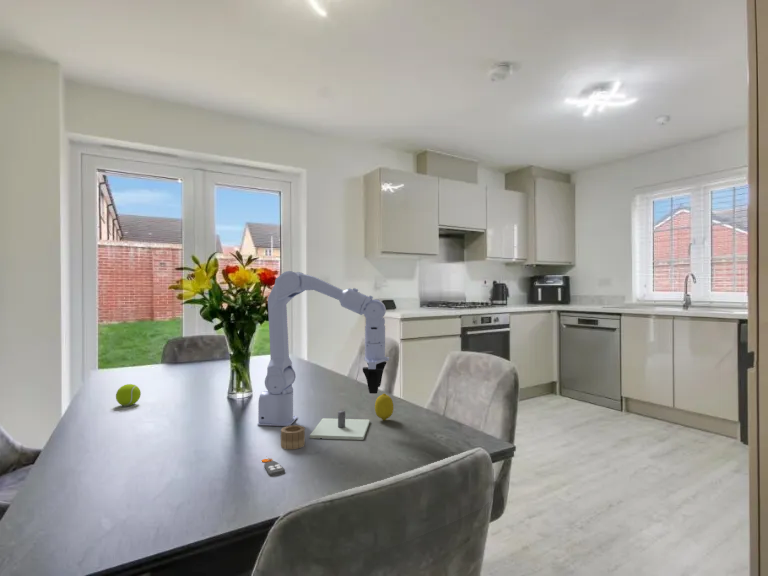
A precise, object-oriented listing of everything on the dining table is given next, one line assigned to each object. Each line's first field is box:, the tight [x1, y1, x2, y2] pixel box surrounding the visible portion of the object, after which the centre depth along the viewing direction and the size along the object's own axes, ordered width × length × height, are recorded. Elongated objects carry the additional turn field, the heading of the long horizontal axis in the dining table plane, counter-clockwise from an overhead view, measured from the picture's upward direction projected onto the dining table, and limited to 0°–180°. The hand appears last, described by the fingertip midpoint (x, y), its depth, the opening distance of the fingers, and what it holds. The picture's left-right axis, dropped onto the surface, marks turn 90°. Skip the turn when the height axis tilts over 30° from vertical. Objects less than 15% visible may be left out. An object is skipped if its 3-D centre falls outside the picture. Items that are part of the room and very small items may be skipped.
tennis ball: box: [115, 383, 142, 407], centre depth 138 cm, size 7×7×7 cm
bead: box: [280, 424, 306, 450], centre depth 103 cm, size 6×6×4 cm
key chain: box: [261, 457, 286, 477], centre depth 93 cm, size 13×4×2 cm, turn 32°
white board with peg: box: [309, 410, 371, 441], centre depth 115 cm, size 14×14×5 cm
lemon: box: [374, 393, 394, 421], centre depth 123 cm, size 6×6×8 cm
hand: (374, 389), depth 119 cm, fingers open, 7 cm apart
